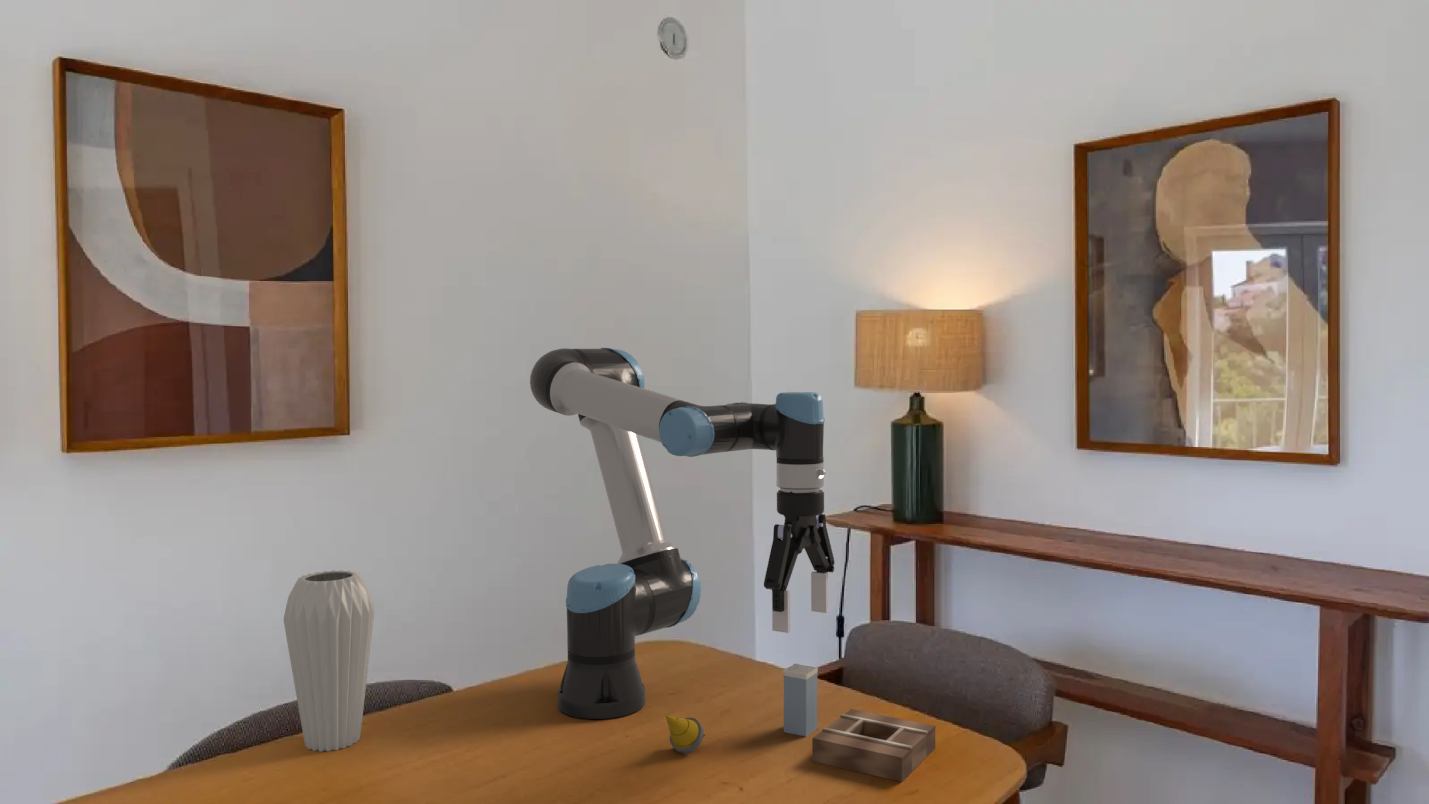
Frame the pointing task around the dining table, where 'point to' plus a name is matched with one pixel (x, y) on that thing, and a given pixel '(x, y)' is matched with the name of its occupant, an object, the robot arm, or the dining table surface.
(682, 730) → the yellow spinning top
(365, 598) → the vase
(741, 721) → the dining table surface
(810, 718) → the peg
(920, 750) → the socket block
